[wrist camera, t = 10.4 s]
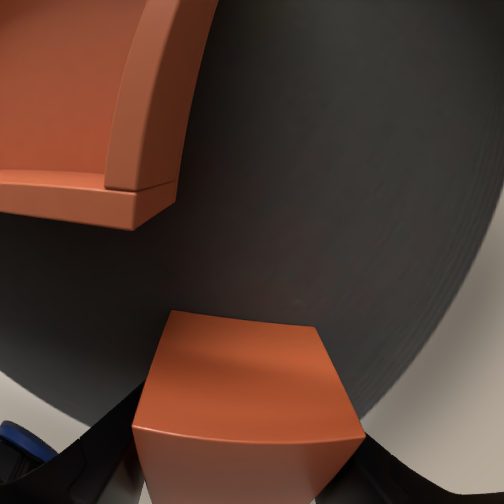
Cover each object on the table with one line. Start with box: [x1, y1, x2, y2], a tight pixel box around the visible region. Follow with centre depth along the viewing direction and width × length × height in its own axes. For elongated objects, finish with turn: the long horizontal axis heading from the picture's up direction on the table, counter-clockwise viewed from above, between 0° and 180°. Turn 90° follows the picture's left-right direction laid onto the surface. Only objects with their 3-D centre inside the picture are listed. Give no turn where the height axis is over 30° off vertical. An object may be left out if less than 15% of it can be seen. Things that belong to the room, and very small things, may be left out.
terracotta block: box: [132, 310, 366, 504], centre depth 7 cm, size 4×4×4 cm
